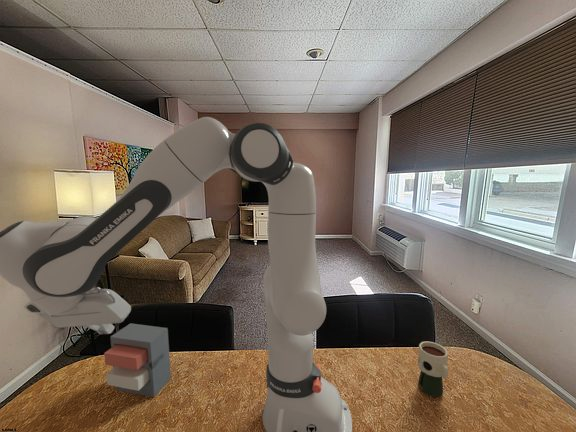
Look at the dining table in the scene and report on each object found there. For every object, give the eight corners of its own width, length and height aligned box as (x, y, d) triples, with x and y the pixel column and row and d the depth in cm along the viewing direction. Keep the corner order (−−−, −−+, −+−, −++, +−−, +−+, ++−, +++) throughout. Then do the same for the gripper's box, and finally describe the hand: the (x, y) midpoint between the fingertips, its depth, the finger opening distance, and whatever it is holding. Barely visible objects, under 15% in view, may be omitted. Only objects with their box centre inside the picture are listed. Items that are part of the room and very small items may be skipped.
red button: (136, 370, 65) (135, 358, 65) (105, 364, 67) (104, 353, 67) (148, 359, 69) (147, 348, 69) (118, 354, 71) (117, 343, 71)
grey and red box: (154, 397, 70) (150, 342, 68) (115, 389, 72) (110, 336, 70) (170, 378, 77) (167, 328, 75) (134, 371, 79) (130, 323, 77)
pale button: (138, 390, 66) (137, 379, 66) (107, 384, 68) (106, 373, 68) (149, 379, 70) (149, 368, 70) (119, 374, 72) (118, 363, 72)
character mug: (407, 377, 77) (409, 338, 75) (428, 374, 78) (430, 336, 76) (432, 408, 66) (435, 363, 65) (456, 405, 67) (460, 360, 66)
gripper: (114, 275, 52) (151, 316, 59) (46, 285, 57) (87, 321, 64) (90, 300, 47) (134, 342, 54) (18, 308, 52) (66, 345, 59)
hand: (108, 331), depth 59 cm, fingers closed
